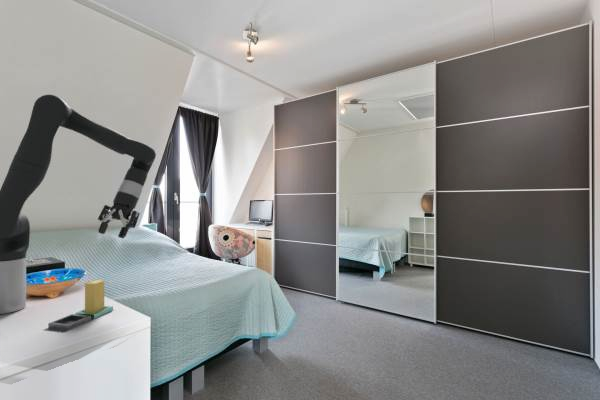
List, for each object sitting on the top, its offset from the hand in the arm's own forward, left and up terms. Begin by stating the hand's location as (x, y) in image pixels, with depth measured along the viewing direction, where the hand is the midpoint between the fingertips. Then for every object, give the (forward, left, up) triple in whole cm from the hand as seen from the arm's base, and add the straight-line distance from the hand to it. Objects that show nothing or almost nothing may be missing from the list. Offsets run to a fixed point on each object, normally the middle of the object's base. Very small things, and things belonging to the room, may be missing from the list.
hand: (110, 235), depth 108 cm
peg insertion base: (+6, -17, -24) cm, 30 cm away
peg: (+6, -12, -23) cm, 27 cm away
